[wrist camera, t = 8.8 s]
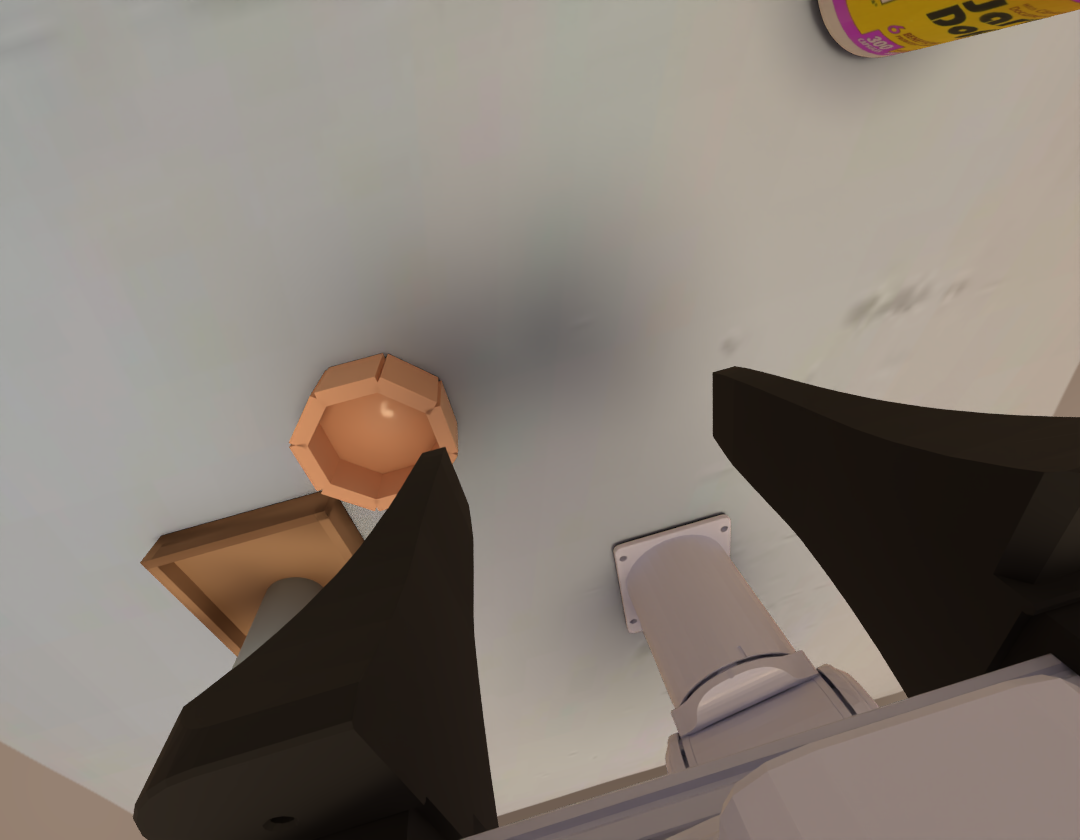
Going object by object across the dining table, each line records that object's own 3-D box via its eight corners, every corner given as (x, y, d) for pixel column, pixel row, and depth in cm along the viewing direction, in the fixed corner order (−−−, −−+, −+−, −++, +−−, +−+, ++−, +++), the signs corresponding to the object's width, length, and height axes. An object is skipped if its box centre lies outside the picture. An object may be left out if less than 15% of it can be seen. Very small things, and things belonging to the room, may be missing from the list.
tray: (414, 622, 29) (411, 648, 28) (280, 661, 29) (271, 689, 27) (332, 488, 23) (324, 511, 22) (161, 535, 23) (140, 562, 21)
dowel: (336, 608, 26) (294, 764, 19) (280, 621, 26) (218, 784, 19) (314, 571, 24) (260, 727, 18) (255, 585, 24) (176, 748, 17)
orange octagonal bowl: (469, 455, 24) (471, 485, 21) (347, 488, 23) (337, 522, 21) (426, 341, 20) (424, 363, 18) (284, 379, 20) (263, 406, 18)
